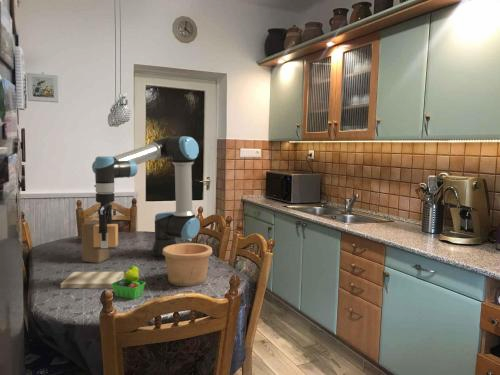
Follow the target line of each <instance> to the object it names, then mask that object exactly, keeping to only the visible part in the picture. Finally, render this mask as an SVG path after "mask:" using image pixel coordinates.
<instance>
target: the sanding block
mask: <svg viewBox="0 0 500 375" xmlns="http://www.w3.org/2000/svg"><path fill="white" fill-rule="evenodd" d="M98 232H99V224H96V225H94V226H93V235H94V249H109V250H117V248H119V224H118V223H112V224H107V233H108V248H101V233H98Z"/></svg>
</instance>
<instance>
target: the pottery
mask: <svg viewBox="0 0 500 375" xmlns="http://www.w3.org/2000/svg"><path fill="white" fill-rule="evenodd" d="M162 254H163V255H164V256H165V258H164V259H165V265H166V274H167V281H168V283H170V284H171V285H172V286H177V287H195V286H199V285H202V284H204V283H205V282H206V281H207V273H208V268H209V262H210V257H211V255H212V254H213V248H212V247H211V246H209V245H207V244H204V243H193V242H188V243H187V242H184V243H183V242H182V243H177V244H173V245H170V246H167V247H165V248H163V251H162Z"/></svg>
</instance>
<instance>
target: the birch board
mask: <svg viewBox="0 0 500 375" xmlns="http://www.w3.org/2000/svg"><path fill="white" fill-rule="evenodd" d="M124 277H125V272H124V271H73V272H72V273H70V275H68V276H67V277H65V278H66V279H65V280H64V281H63V282H62V283H61V284H60V289H61V288H79V289H113V286H112V283H114V282H116V281H119V280H121V279H124Z"/></svg>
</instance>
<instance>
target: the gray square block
mask: <svg viewBox="0 0 500 375" xmlns="http://www.w3.org/2000/svg"><path fill="white" fill-rule="evenodd" d="M66 278H67V277H58V278H57V279H56V280H54V285H61V283H62V282H63V281H64V280H65V279H66Z"/></svg>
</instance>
